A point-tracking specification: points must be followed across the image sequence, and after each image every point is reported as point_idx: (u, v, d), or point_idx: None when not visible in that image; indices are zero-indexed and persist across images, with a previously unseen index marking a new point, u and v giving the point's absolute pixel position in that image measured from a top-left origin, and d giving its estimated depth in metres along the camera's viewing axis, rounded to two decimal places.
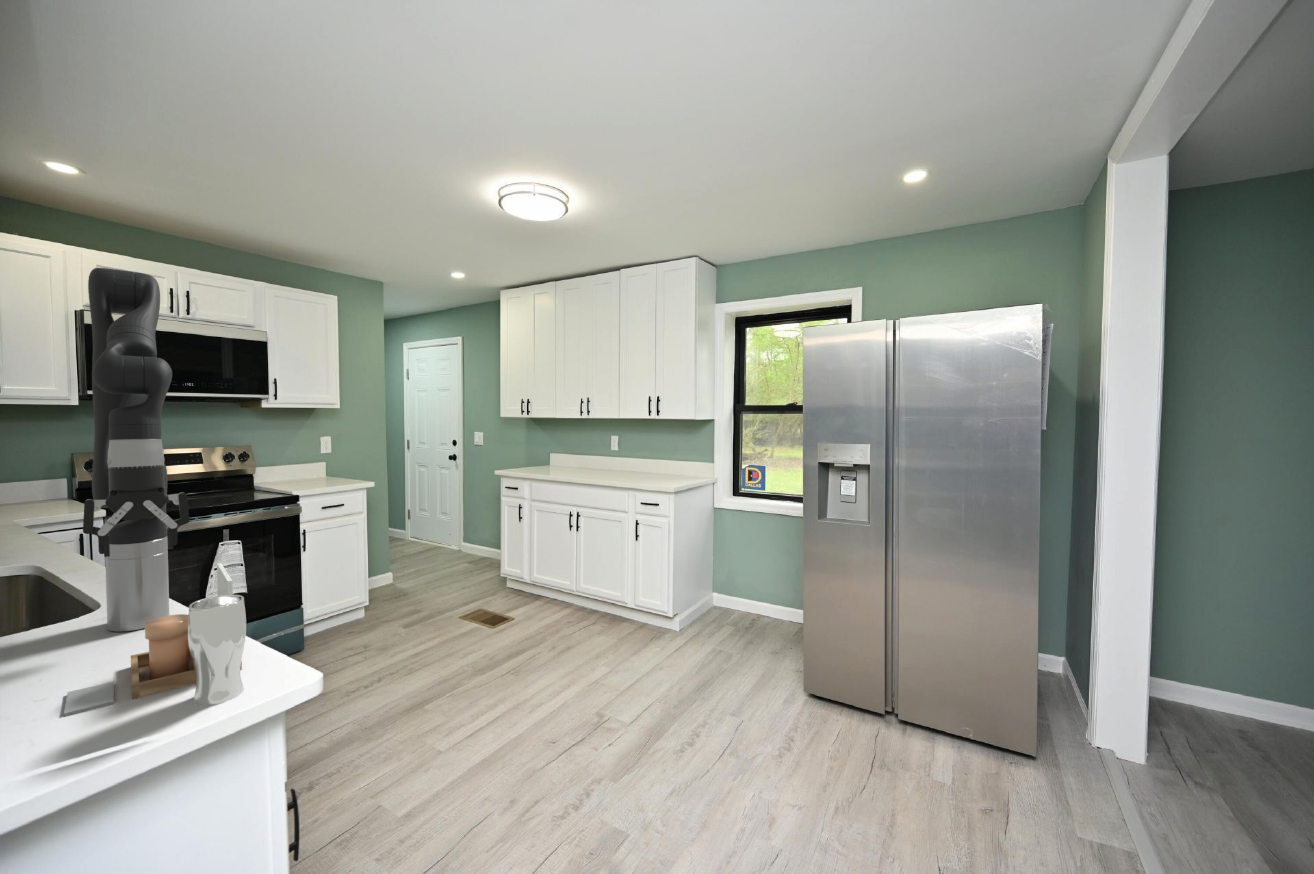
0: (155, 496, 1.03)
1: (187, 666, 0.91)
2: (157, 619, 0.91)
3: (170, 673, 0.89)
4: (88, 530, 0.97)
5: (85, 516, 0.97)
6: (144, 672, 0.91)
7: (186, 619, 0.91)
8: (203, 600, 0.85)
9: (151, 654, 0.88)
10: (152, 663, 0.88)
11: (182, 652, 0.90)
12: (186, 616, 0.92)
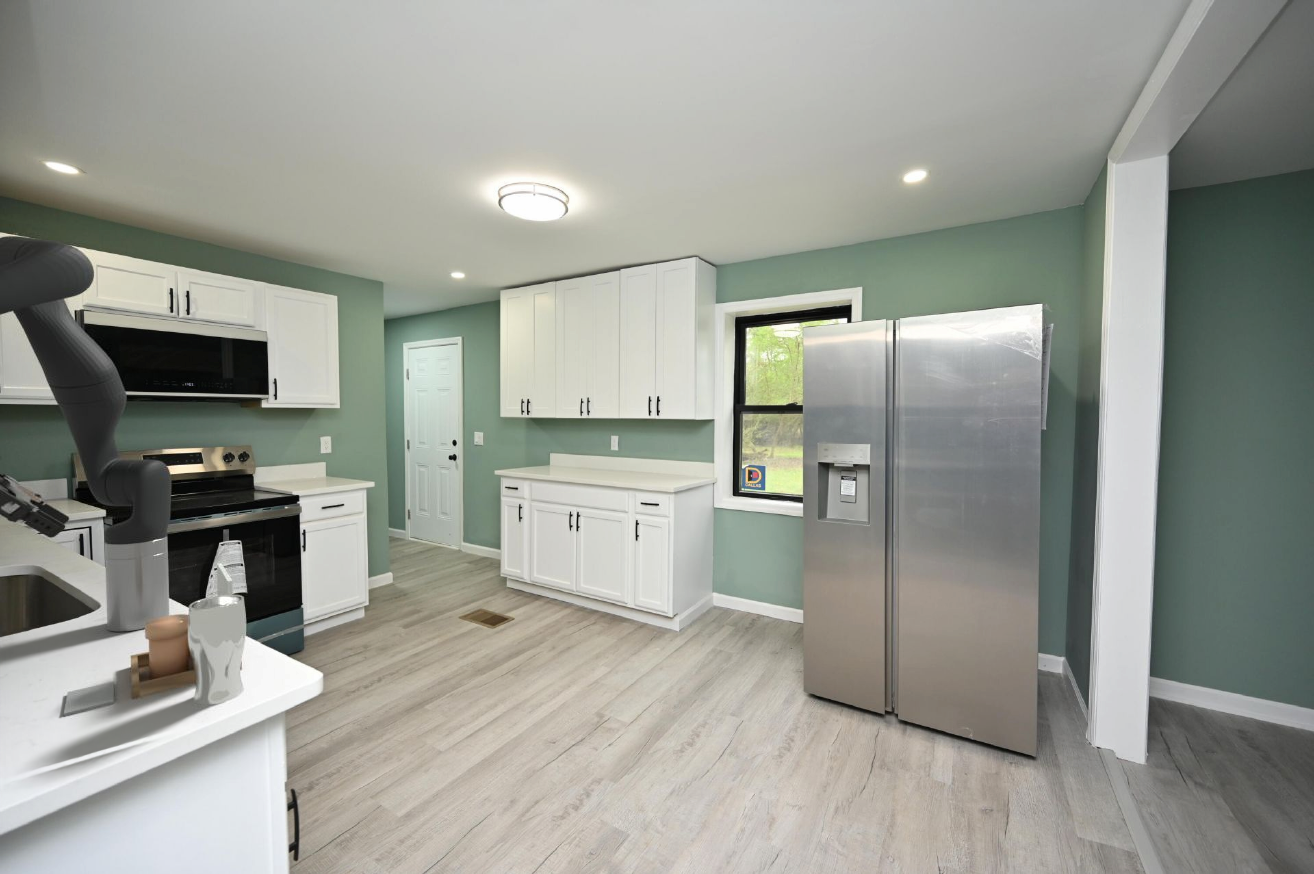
0: None
1: (187, 666, 0.91)
2: (157, 619, 0.91)
3: (170, 673, 0.89)
4: None
5: None
6: (144, 672, 0.91)
7: (186, 619, 0.91)
8: (203, 600, 0.85)
9: (151, 654, 0.88)
10: (152, 663, 0.88)
11: (182, 652, 0.90)
12: (186, 616, 0.92)
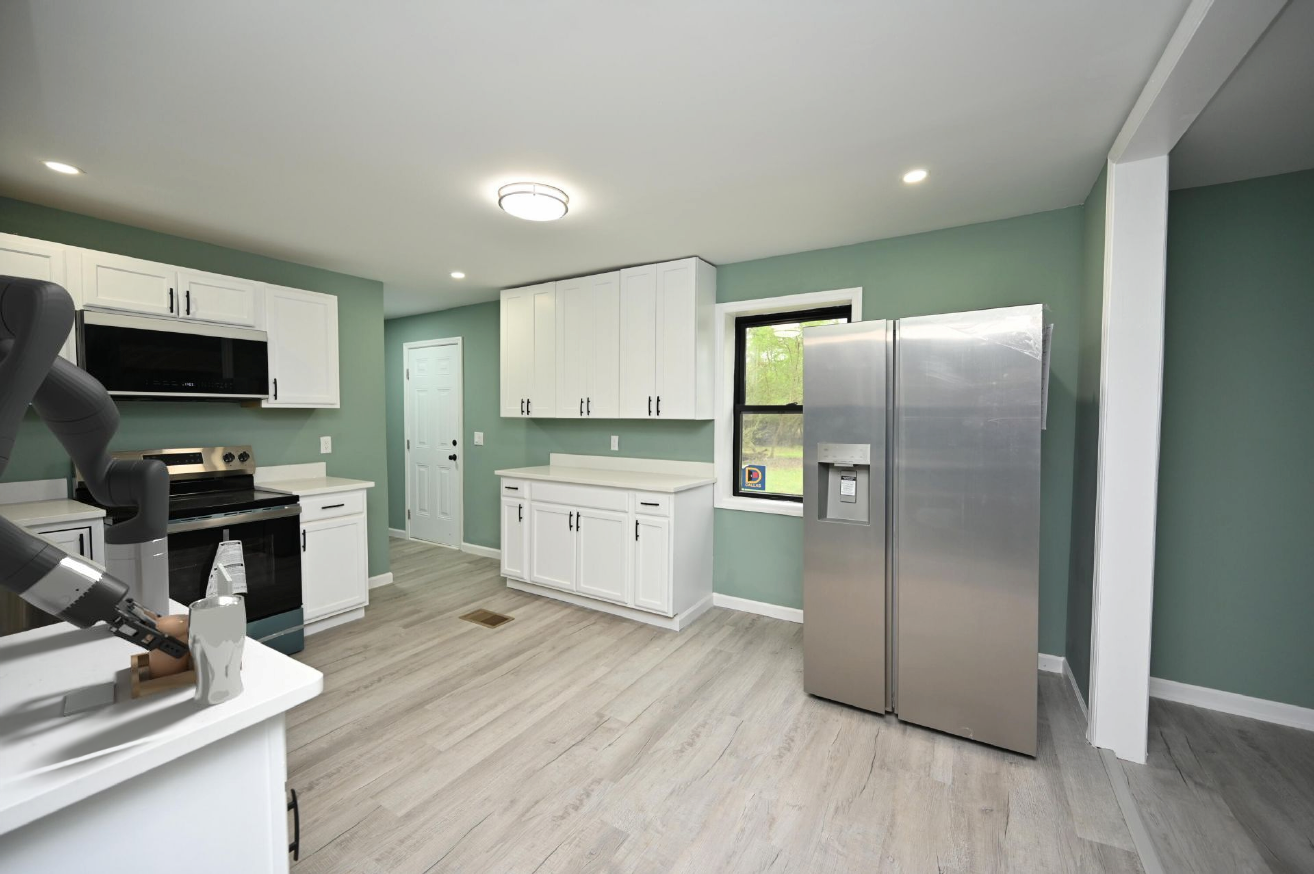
0: None
1: (187, 666, 0.91)
2: (158, 619, 0.91)
3: (170, 673, 0.89)
4: None
5: None
6: (144, 672, 0.91)
7: (186, 619, 0.91)
8: (203, 600, 0.85)
9: (151, 654, 0.88)
10: (152, 663, 0.88)
11: None
12: (186, 616, 0.92)
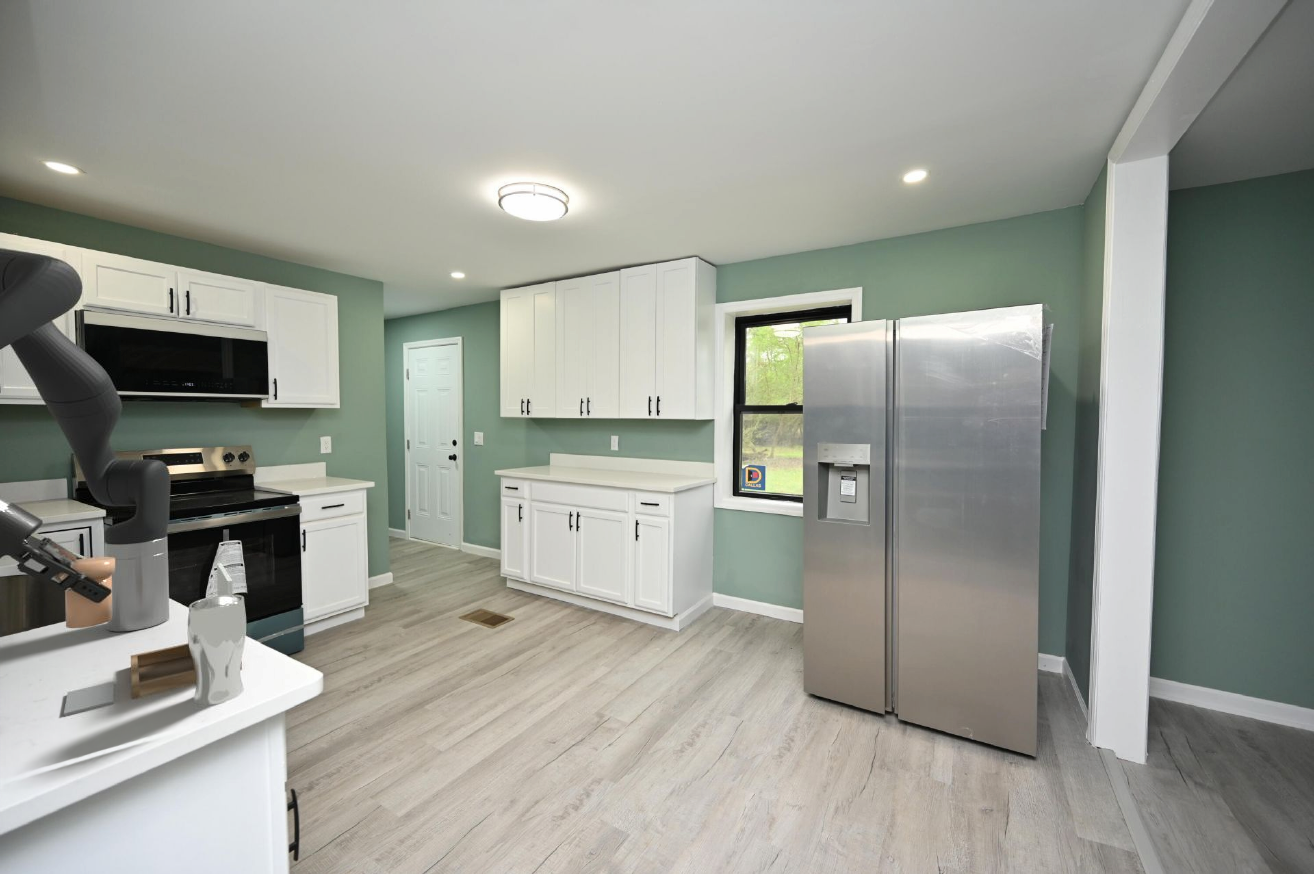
0: None
1: (109, 613, 0.83)
2: (77, 560, 0.82)
3: (88, 619, 0.81)
4: None
5: None
6: (144, 672, 0.91)
7: (109, 561, 0.83)
8: (203, 600, 0.85)
9: (67, 597, 0.80)
10: (68, 607, 0.80)
11: None
12: (110, 558, 0.84)
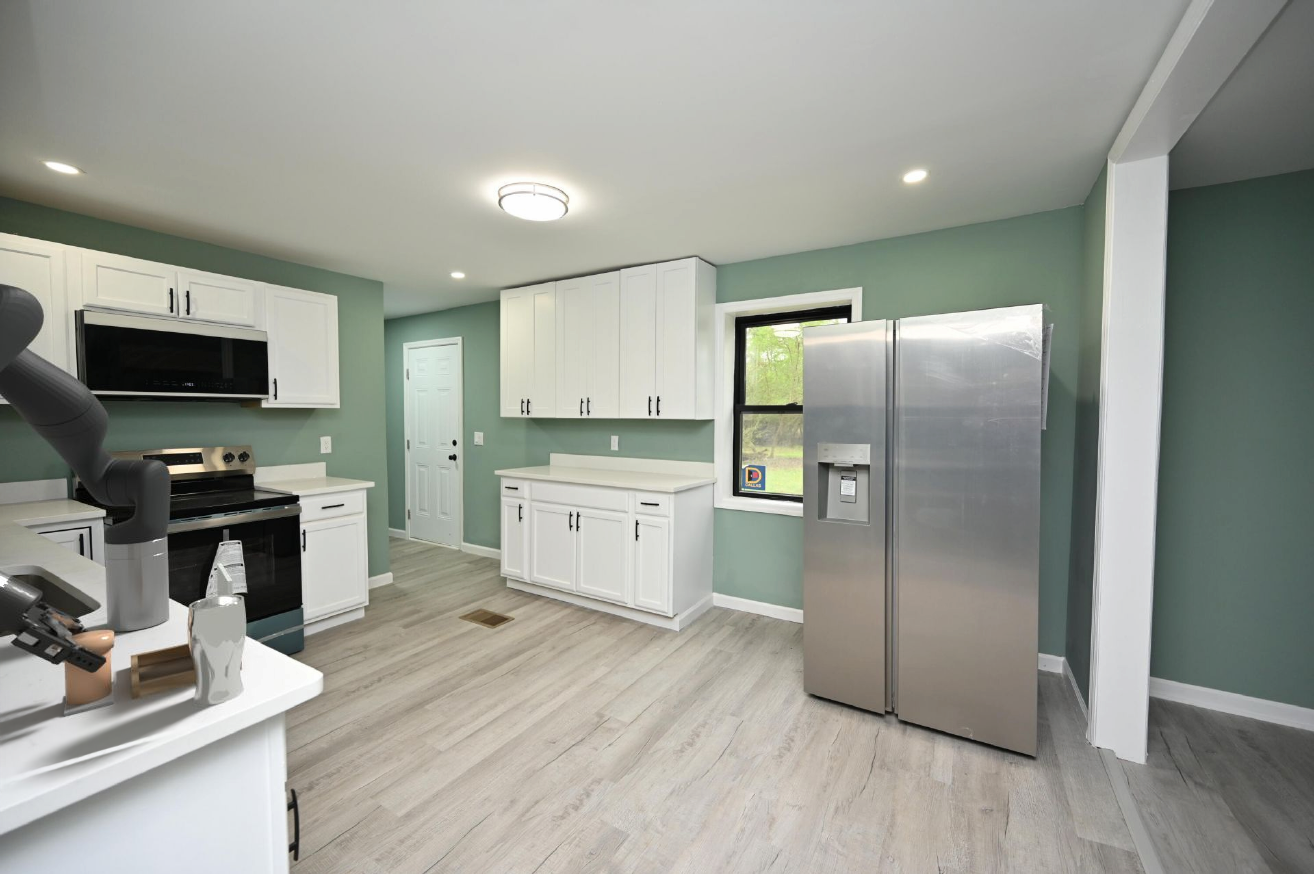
0: None
1: (109, 687, 0.83)
2: (76, 635, 0.83)
3: (88, 695, 0.81)
4: None
5: None
6: (144, 672, 0.91)
7: (108, 635, 0.83)
8: (203, 600, 0.85)
9: (66, 674, 0.80)
10: (67, 684, 0.80)
11: (103, 671, 0.82)
12: (109, 632, 0.84)
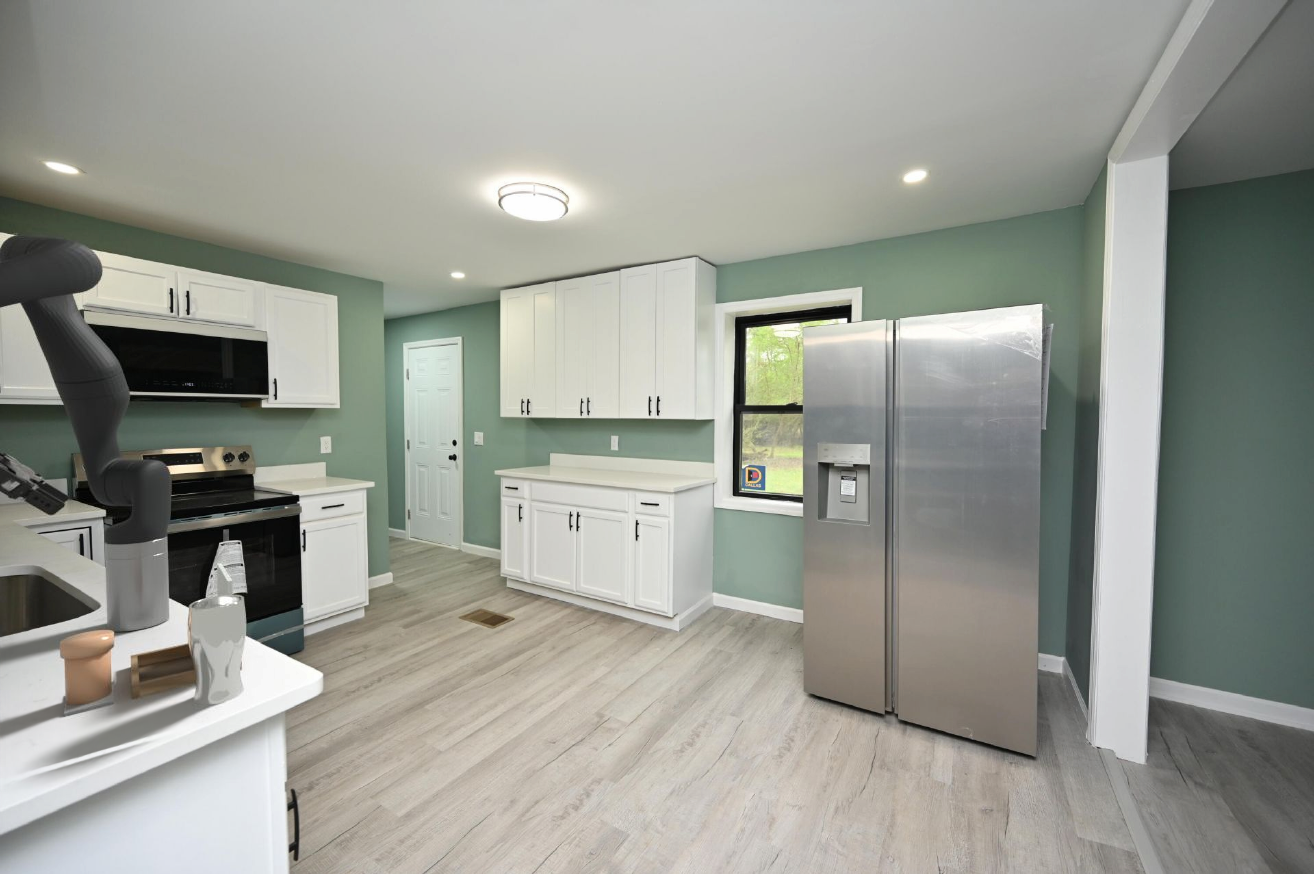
0: None
1: (109, 687, 0.83)
2: (76, 635, 0.83)
3: (88, 695, 0.81)
4: None
5: None
6: (144, 672, 0.91)
7: (108, 636, 0.83)
8: (203, 600, 0.85)
9: (67, 675, 0.80)
10: (67, 685, 0.80)
11: (103, 672, 0.82)
12: (109, 632, 0.84)
